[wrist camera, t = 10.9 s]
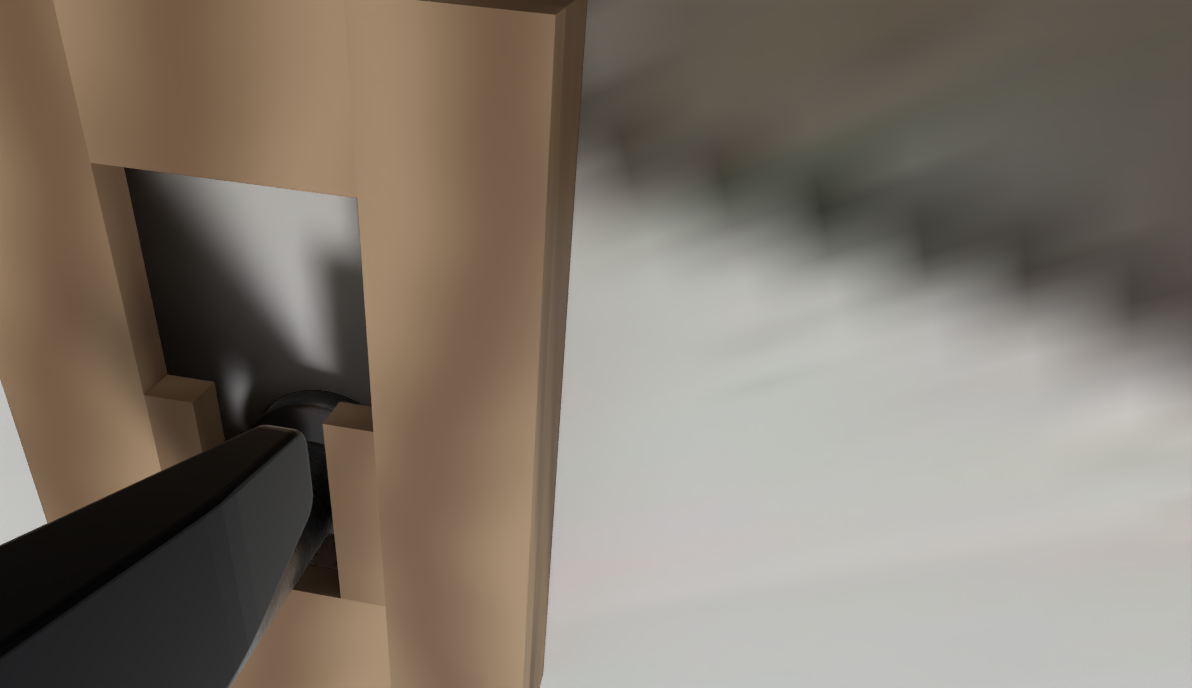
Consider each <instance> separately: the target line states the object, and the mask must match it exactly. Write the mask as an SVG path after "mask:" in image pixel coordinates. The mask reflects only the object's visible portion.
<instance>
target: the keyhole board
mask: <svg viewBox="0 0 1192 688" xmlns="http://www.w3.org/2000/svg"><path fill="white" fill-rule="evenodd" d="M586 13H587V0H0V380H1V383H2V386H3V389H4V392H5V395H6V398H7V401H8V404H9V407H10V410H11V413H12V416H13V419H14V422H15V425H16V428H17V431H18V434H19V438H20V441H21V444H22V447H23V450H24V453H25V456H26V459H27V462H28V465H29V468H30V471H31V474H32V477H33V480H34V483H35V486H36V489H37V492H38V495H39V499H40V502H41V505H42V508H43V511H44V514H45V517H46V520H47V523H50V522H52V521H54V520H56V519H58V518H60V517H63V516H65V515H67V514H69V513H71V512H73V511H76V510H78V509H80V508H82V507H84V506H86V505H89V504H91V503H93V502H95V501H97V500H99V499H102V498H104V497H106V496H108V495H110V494H112V493H115V492H117V491H119V490H121V489H123V488H125V487H128V486H130V485H132V484H134V483H136V482H138V481H140V480H143V479H145V478H147V477H149V476H151V475H153V474H156V473H158V472H160V471H162V470H164V469H166V468H169V467H171V466H173V465H175V464H177V463H179V462H182V461H184V460H186V459H188V458H190V457H192V456H195V455H197V454H199V453H201V452H203V451H205V450H208V449H210V448H212V447H214V446H216V445H218V444H221V443H223V442H225V439H224V433H223V427H222V422H221V416H220V411H219V405H218V399H217V394H216V388H215V382H212V381H205V380H199V379H193V378H186V377H180V376H174V375H168V374H167V370H166V365H165V360H164V355H163V351H162V346H161V341H160V336H159V332H158V327H157V322H156V317H155V312H154V308H153V303H152V298H151V293H150V289H149V284H148V279H147V274H146V270H145V265H144V260H143V255H142V251H141V246H140V241H139V236H138V232H137V227H136V222H135V217H134V213H133V208H132V203H131V198H130V194H129V189H128V184H127V179H126V174H125V170H124V167H126V168H134V169H141V170H149V171H156V172H164V173H171V174H179V175H187V176H194V177H202V178H209V179H217V180H224V181H232V182H239V183H247V184H255V185H262V186H270V187H277V188H285V189H292V190H300V191H308V192H315V193H323V194H330V195H338V196H345V197H353V198H357V202H358V217H359V231H360V245H361V260H362V274H363V289H364V303H365V318H366V332H367V347H368V361H369V375H370V390H371V404H372V407H370V406H364V405H357V404H351V403H345V402H339V403H338V404H337V406H336V407H335V408H334V410H333V411H332V412H331V414H330V415H329V416H328V417H327V419H326V420H325V421H324V423H323V433H324V442H325V452H326V461H327V471H328V480H329V490H330V499H331V509H332V518H333V528H334V537H335V546H336V556H337V565H338V570H336V569H330V568H325V567H319V566H314V565H308V566H307V567H306V569H305V570H304V572H303V574H302V575H301V577H300V578H299V580H298V581H297V583H296V585H295V586H294V588H293V589H292V591H291V592H290V594H289V596H288V597H287V599H286V600H285V602H284V604H283V605H282V607H281V608H280V610H279V611H278V613H277V615H276V616H275V618H274V619H273V621H272V622H271V624H270V626H269V627H268V629H267V630H266V632H265V633H264V635H263V637H262V638H261V640H260V641H259V643H258V644H257V646H256V648H255V649H254V651H253V652H252V654H251V655H250V657H249V659H248V660H247V662H246V663H245V665H244V667H243V668H242V670H241V671H240V673H239V674H238V676H237V678H236V679H235V681H234V682H233V684H232V685H231V687H230V688H540V684H541V680H542V676H543V668H544V653H545V637H546V622H547V607H548V592H549V577H550V561H551V546H552V531H553V516H554V500H555V485H556V470H557V455H558V439H559V424H560V409H561V394H562V379H563V363H564V348H565V333H566V318H567V302H568V287H569V272H570V257H571V241H572V226H573V211H574V196H575V180H576V165H577V150H578V135H579V120H580V104H581V89H582V74H583V59H584V43H585V28H586Z"/></svg>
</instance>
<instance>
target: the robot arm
mask: <svg viewBox="0 0 1192 688" xmlns="http://www.w3.org/2000/svg"><path fill="white" fill-rule="evenodd" d="M312 501H313V490H312V482H311V473H310V465H309V456H308V448H307V442H306V439H305V437H304V435H303V434H302V433H301V432H300V431H298V430H296V429H290V428H284V427H278V426H272V425H261V426H258V427H255V428H253V429H251V430H249V431H247V432H244V433H242V434H240V435H238V436H236V437H234V438H231V439H229V440H227V441H225V442H223V443H221V444H218V445H216V446H214V447H212V448H210V449H208V450H205V451H203V452H201V453H199V454H197V455H195V456H192V457H190V458H188V459H186V460H184V461H182V462H179V463H177V464H175V465H173V466H171V467H169V468H166V469H164V470H162V471H160V472H158V473H156V474H153V475H151V476H149V477H147V478H145V479H143V480H140V481H138V482H136V483H134V484H132V485H130V486H128V487H125V488H123V489H121V490H119V491H117V492H115V493H112V494H110V495H108V496H106V497H104V498H102V499H99V500H97V501H95V502H93V503H91V504H89V505H86V506H84V507H82V508H80V509H78V510H76V511H73V512H71V513H69V514H67V515H65V516H63V517H60V518H58V519H56V520H54V521H52V522H50V523H47V524H45V525H43V526H41V527H39V528H37V529H34V530H32V531H30V532H28V533H26V534H24V535H21V536H19V537H17V538H15V539H13V540H11V541H8V542H6V543H4V544H2V545H0V688H228V687H229V685H230V683H231V681H232V680H233V678H234V676H235V675H236V673H237V671H238V669H239V667H240V666H241V664H242V662H243V660H244V658H245V656H246V655H247V653H248V651H249V649H250V647H251V645H252V643H253V641H254V639H255V637H256V634H257V632H258V630H259V628H260V626H261V624H262V621H263V619H264V617H265V615H266V612H267V610H268V608H269V606H270V603H271V601H272V599H273V597H274V594H275V592H276V590H277V588H278V585H279V583H280V581H281V579H282V576H283V574H284V572H285V570H286V567H287V565H288V563H289V561H290V558H291V556H292V554H293V552H294V549H295V547H296V545H297V543H298V540H299V538H300V536H301V534H302V531H303V529H304V527H305V525H306V522H307V520H308V518H309V515H310V511H311V507H312Z"/></svg>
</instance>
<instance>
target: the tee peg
mask: <svg viewBox="0 0 1192 688" xmlns="http://www.w3.org/2000/svg"><path fill="white" fill-rule="evenodd" d="M339 402H345V403H351V404H357V405H361V404H359V403H357V402H356V401H354V400H352V399H349V398H347V397H345V396H342V395H339V394H336V393H331V392H326V391H318V390H305V391H298V392H294V393H291V394H288V395H286V396H284V397H281V398H280V399H279V400H277V401H276V402H274V403H273V404H272V405H271V406H270V407H269V408H268V409H267V411H266V412H265V413H264V414H263V415H262V416H261V417H260V418H259V420H258V421H257V422H256V423H255V424H254V425H253V426H252V428H251V429H253V428H255V427H258V426H261V425H272V426H278V427H284V428H290V429H296V430H298V431H300V432H301V433H302V434H303V435H304V437H305V439H306V442H307V448H308V456H309V465H310V473H311V482H312V490H313V501H312V507H311V511H310V515H309V518H308V520H307V522H306V525H305V527H304V529H303V531H302V534H301V536H300V538H299V540H298V543H297V545H296V547H295V549H294V552H293V554H292V556H291V558H290V561H289V563H288V565H287V567H286V570H285V572H284V574H283V576H282V579H281V581H280V583H279V585H278V588H277V590H276V592H275V594H274V597H273V599H272V601H271V603H270V606H269V608H268V610H267V612H266V615H265V617H264V619H263V621H262V624H261V626H260V628H259V630H258V632H257V634H256V637H255V639H254V641H253V643H252V645H251V647H250V649H249V651H248V653H247V655H246V656H245V658H244V660H243V662H242V664H241V666H240V667H239V669H238V671H237V673H236V675H235V676H234V678H233V680H232V681H231V683H230V685H229V687H228V688H230V687H231V685H232V684H233V682H234V681H235V679H236V678H237V676H238V674H239V673H240V671H241V670H242V668H243V667H244V665H245V663H246V662H247V660H248V659H249V657H250V655H251V654H252V652H253V651H254V649H255V648H256V646H257V644H258V643H259V641H260V640H261V638H262V637H263V635H264V633H265V632H266V630H267V629H268V627H269V626H270V624H271V622H272V621H273V619H274V618H275V616H276V615H277V613H278V611H279V610H280V608H281V607H282V605H283V604H284V602H285V600H286V599H287V597H288V596H289V594H290V592H291V591H292V589H293V588H294V586H295V585H296V583H297V581H298V580H299V578H300V577H301V575H302V574H303V572H304V570H305V569H306V567H307V566H308V564H309V563H310V561H311V559H312V558H313V556H314V555H315V553H316V552H317V550H318V548H319V547H320V545H321V544H322V542H323V541H324V539H325V537H326V536H327V534H328V533H330V534H334V528H333V518H332V509H331V499H330V490H329V480H328V471H327V461H326V452H325V442H324V433H323V423H324V421H325V420H326V419H327V417H328V416H329V415H330V414H331V412H332V411H333V410H334V408H335V407H336V406H337V404H338V403H339ZM251 429H250V430H251Z"/></svg>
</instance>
